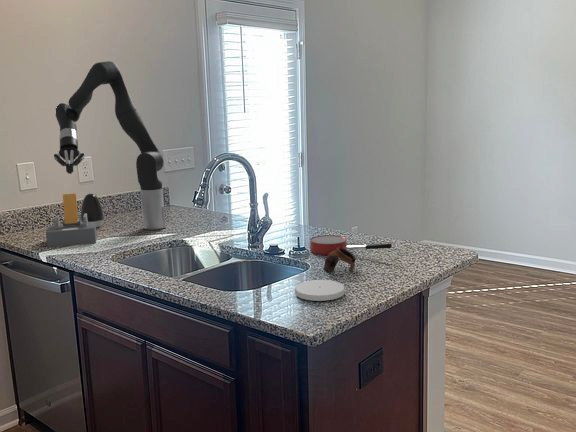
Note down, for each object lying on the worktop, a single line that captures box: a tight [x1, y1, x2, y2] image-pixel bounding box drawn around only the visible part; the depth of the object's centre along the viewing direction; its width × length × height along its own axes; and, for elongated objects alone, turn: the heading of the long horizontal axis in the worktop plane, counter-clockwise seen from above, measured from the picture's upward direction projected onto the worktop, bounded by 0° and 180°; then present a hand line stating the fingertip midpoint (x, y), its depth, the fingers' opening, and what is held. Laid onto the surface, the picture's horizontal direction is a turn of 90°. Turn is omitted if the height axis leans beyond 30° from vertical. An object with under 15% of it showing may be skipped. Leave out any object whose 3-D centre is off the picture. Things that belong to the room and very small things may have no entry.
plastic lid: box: [294, 279, 346, 302], centre depth 172 cm, size 14×14×2 cm
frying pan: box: [309, 234, 392, 256], centre depth 213 cm, size 32×13×6 cm, turn 56°
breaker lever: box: [62, 193, 81, 226], centre depth 246 cm, size 6×2×13 cm, turn 105°
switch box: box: [45, 213, 98, 248], centre depth 244 cm, size 18×13×10 cm
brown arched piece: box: [323, 248, 357, 273], centre depth 193 cm, size 12×10×8 cm
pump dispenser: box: [80, 193, 105, 229], centre depth 269 cm, size 10×10×15 cm
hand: (69, 172), depth 258 cm, fingers closed
